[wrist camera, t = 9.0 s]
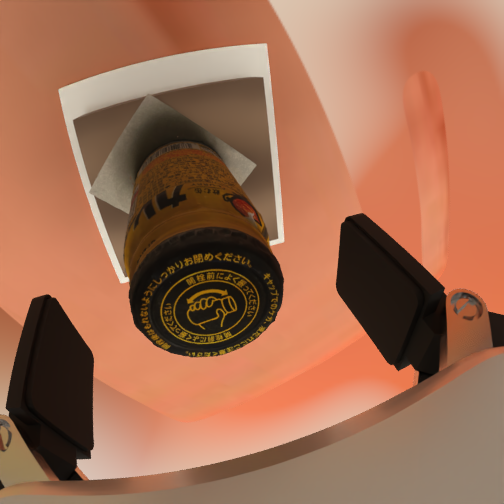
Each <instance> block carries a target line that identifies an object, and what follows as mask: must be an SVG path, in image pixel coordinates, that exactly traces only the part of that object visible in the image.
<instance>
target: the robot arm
mask: <svg viewBox="0 0 504 504" xmlns="http://www.w3.org/2000/svg"><path fill="white" fill-rule="evenodd" d="M336 288H337V292H338V294H339V295H340V297H341V298H342V299H343V301H344V302H345V303H346V305H347V306H348V308H349V309H350V310H351V312H352V313H353V314H354V316H355V317H356V319H357V320H358V321H359V323H360V324H361V326H362V327H363V328H364V330H365V331H366V333H367V334H368V335H369V337H370V338H371V340H372V341H373V342H374V344H375V345H376V347H377V348H378V349H379V351H380V352H381V354H382V355H383V357H384V358H385V360H386V361H387V362H388V363H389V364H390V365H394V366H395V368H396V369H397V370H398V371H399V370H401V369H403V368H405V367H407V366H409V365H410V364H411V365H412V366H413V367H414V369H415V373H414V381H413V387H412V388H410V389H408V390H406V391H404V392H402V393H401V394H399V395H397V396H395V397H393V398H391V399H389V400H387V401H386V402H383V403H382V404H379V405H377V406H375V407H373V408H371V409H369V410H367V411H365V412H363V413H361V414H359V415H356V416H354V417H352V418H350V419H347V420H345V421H343V422H341V423H338V424H336V425H333V426H331V427H329V428H326V429H324V430H321V431H319V432H316V433H313V434H311V435H308V436H305V437H303V438H300V439H297V440H294V441H292V442H289V443H286V444H283V445H280V446H277V447H274V448H271V449H268V450H264V451H261V452H257V453H254V454H250V455H247V456H243V457H239V458H236V459H232V460H228V461H224V462H220V463H215V464H211V465H206V466H201V467H196V468H192V469H186V470H180V471H175V472H169V473H162V474H155V475H148V476H139V477H129V478H117V479H102V480H89V479H88V478H87V477H86V476H85V475H84V474H83V472H82V471H81V470H80V469H79V468H78V467H77V459H91V452H90V450H92V449H93V447H94V440H93V368H94V358H93V354H92V351H91V350H90V348H89V347H88V346H87V344H86V343H85V341H84V340H83V339H82V337H81V336H80V334H79V333H78V331H77V330H76V328H75V327H74V325H73V324H72V322H71V321H70V319H69V318H68V316H67V315H66V313H65V312H64V310H63V309H62V307H61V305H60V304H59V302H58V301H57V299H56V298H52V297H51V296H50V295H43V296H40V297H36V298H34V299H32V301H31V304H30V307H29V310H28V314H27V317H26V320H25V323H24V327H23V330H22V334H21V338H20V342H19V345H18V349H17V353H16V357H15V362H14V366H13V370H12V375H11V380H10V386H9V391H8V397H7V403H6V409H7V410H8V411H9V417H8V416H6V415H1V414H0V504H504V315H501V314H496V313H493V312H488V310H487V307H486V304H485V302H484V301H483V299H482V298H481V297H480V296H478V295H477V294H475V293H474V292H472V291H470V290H467V289H455V290H452V291H451V292H449V294H448V295H446V294H445V293H444V289H445V288H444V287H443V285H441V284H440V283H439V282H438V281H437V280H436V279H435V278H434V277H433V276H432V275H431V274H430V273H429V272H428V271H427V270H426V269H425V268H424V267H423V266H422V265H421V264H420V263H419V262H418V261H417V260H416V259H415V258H413V257H412V256H411V255H410V254H409V253H408V252H407V251H406V250H405V249H404V248H402V247H401V246H400V245H399V244H398V243H397V242H396V241H395V240H394V239H393V238H391V237H390V236H389V235H388V234H387V233H386V232H385V231H384V230H382V229H381V228H380V227H379V226H378V225H377V224H376V223H374V222H373V221H372V220H371V219H370V218H369V217H367V216H366V215H365V214H363V213H361V214H356V215H352V216H348V217H346V219H345V222H343V223H342V224H341V232H340V246H339V258H338V269H337V279H336Z"/></svg>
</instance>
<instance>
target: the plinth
mask: <svg viewBox="0 0 504 504" xmlns="http://www.w3.org/2000/svg"><path fill="white" fill-rule="evenodd" d="M151 95H152V96H153V97H155V98H157V99H158V100H160V101H161V102H163V103H165V104H166V105H168V106H170V107H171V108H173V109H175V110H176V111H178V112H179V113H181V114H182V115H184V116H185V117H187V118H188V119H190V120H191V121H193V122H195V123H196V124H198V125H199V126H201V127H202V128H204V129H205V130H207V131H208V132H210V133H211V134H213V135H214V136H216V137H217V138H219V139H220V140H222V141H223V142H225V143H226V144H228V145H229V146H230V147H232V148H234V149H235V150H236V151H238V152H239V153H241V154H242V155H244V156H245V157H246V158H248V159H249V160H251V161H252V162H253V163H255V164H256V167H255V168H254V169H253V171H252V172H251V173H250V175H249V176H248V177H247V178H246V180H245V181H244V182H243V183H242V185H241V188H242V189H243V191H244V192H245V194H246V195H247V196H248V198H249V199H250V201H251V202H252V204H253V205H254V207H255V208H256V209H257V211H258V212H259V213H260V214H261V216H262V218H263V221H264V223H265V226H266V228H267V232H268V235H269V240H270V241H272V240H276V239H278V228H277V215H276V203H275V191H274V179H273V168H272V157H271V146H270V136H269V126H268V116H267V106H266V97H265V88H264V79H263V77H245V78H237V79H229V80H223V81H216V82H210V83H204V84H198V85H193V86H188V87H183V88H178V89H173V90H168V91H164V92H160V93H155V94H151ZM145 97H146V96H143V97H139V98H136V99H132V100H128V101H125V102H121V103H118V104H114V105H111V106H108V107H105V108H101V109H98V110H95V111H92V112H89V113H86V114H84V115H82V116H80V117H78V118H76V119H74V120H73V124H74V128H75V132H76V136H77V139H78V143H79V147H80V151H81V154H82V158H83V161H84V165H85V168H86V172H87V175H88V178H89V181H90V184H91V187H92V185H93V184H94V182H95V180H96V178H97V176H98V174H99V172H100V170H101V169H102V167H103V165H104V163H105V161H106V160H107V158H108V156H109V154H110V153H111V151H112V149H113V147H114V146H115V144H116V142H117V141H118V139H119V137H120V136H121V134H122V132H123V131H124V129H125V128H126V126H127V125H128V123H129V121H130V120H131V118H132V117H133V115H134V114H135V112H136V111H137V109H138V108H139V106H140V105H141V103H142V101H143V100H144V99H145ZM177 137H178V136H177ZM131 179H132V178H131V176H130V180H131ZM132 184H133V185H134V182H133V183H132ZM94 197H95V200H96V203H97V206H98V209H99V212H100V214H101V217H102V220H103V223H104V226H105V228H106V231H107V234H108V236H109V239H110V242H111V244H112V247H113V249H114V252H115V254H116V257H117V259H118V262H119V264H120V267H121V269H122V272H123V274H124V276H125V277H128V276H127V273H126V269H125V264H124V257H123V254H124V242H125V235H126V229H127V222H128V217H129V214H127V213H126V212H124V211H122V210H121V209H119V208H116V207H114V206H112V205H111V204H109V203H107V202H105V201H103V200H101V199H99V198H97V197H96V196H94Z"/></svg>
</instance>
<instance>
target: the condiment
mask: <svg viewBox="0 0 504 504" xmlns="http://www.w3.org/2000/svg"><path fill="white" fill-rule="evenodd" d="M177 136H178V137H177ZM255 167H256V164H255V163H253V162H252V161H251V160H249V159H248V158H246V157H245V156H244V155H242V154H241V153H239V152H238V151H236V150H235V149H234V148H232V147H230V146H229V145H228V144H226V143H225V142H223V141H222V140H220V139H219V138H217V137H216V136H214V135H213V134H211V133H210V132H208V131H207V130H205V129H204V128H202V127H201V126H199V125H198V124H196V123H195V122H193V121H191V120H190V119H188V118H187V117H185V116H184V115H182V114H181V113H179V112H178V111H176V110H175V109H173V108H171V107H170V106H168V105H166V104H165V103H163V102H161V101H160V100H158V99H157V98H155V97H153V96H152V95H150V94H147V96H146V97H145V99H144V100H143V101H142V103H141V105H140V106H139V108H138V109H137V111H136V112H135V114H134V115H133V117H132V118H131V120H130V121H129V123H128V125H127V126H126V128H125V129H124V131H123V132H122V134H121V136H120V137H119V139H118V141H117V142H116V144H115V146H114V147H113V149H112V151H111V153H110V154H109V156H108V158H107V160H106V161H105V163H104V165H103V167H102V169H101V170H100V172H99V174H98V176H97V178H96V180H95V182H94V184H93V185H92V187H91V189H90V191H89V193H90V194H92V195H94V196H96V197H97V198H99V199H101V200H103V201H105V202H107V203H109V204H111V205H112V206H114V207H116V208H119V209H121V210H122V211H124V212H126V213H127V214H129V217H128V222H127V229H126V235H125V242H124V254H123V257H124V264H125V269H126V273H127V276H128V278H129V284H130V290H129V299H130V301H129V302H130V306H131V312H132V315H133V320H134V324H135V326H136V327H137V328H138V329H139V330H140V331H141V332H142V333H143V334H144V335H145V336H146V337H147V338H148V339H149V340H150V341H151V342H152V343H153V344H154V345H155V346H157V347H159V348H162V349H164V350H166V351H168V352H170V353H174V354H178V355H183V356H189V357H209V356H218V355H223V354H226V353H229V352H231V351H234V350H237V349H239V348H241V347H243V346H245V345H247V344H248V343H250V342H252V341H253V340H255V339H256V338H258V337H259V336H260V335H261V334H262V332H264V331H265V330H266V329H267V328H268V326H269V325H270V324H271V323H272V322H274V321H275V318H276V316H277V312H278V311H279V309H280V307H281V304H282V298H283V283H284V278H283V275H282V271H281V268H280V264H279V262H278V261H277V259H276V257H275V256H274V255H273V253H272V250H271V248H270V240H269V235H268V232H267V228H266V226H265V223H264V221H263V218H262V216H261V214H260V213H259V212H258V211H257V209H256V208H255V207H254V205H253V204H252V202H251V201H250V199H249V198H248V196H247V195H246V194H245V192H244V191H243V189H242V188H241V185H242V183H243V182H244V181H245V180H246V178H247V177H248V176H249V175H250V173H251V172H252V171H253V169H254V168H255ZM130 176H131V178H132V179H131V180H130ZM133 182H134V185H133V184H132V183H133Z"/></svg>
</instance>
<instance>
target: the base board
mask: <svg viewBox="0 0 504 504" xmlns="http://www.w3.org/2000/svg"><path fill="white" fill-rule="evenodd" d="M245 77H263V79H264V88H265V97H266V106H267V116H268V126H269V136H270V146H271V157H272V168H273V179H274V191H275V203H276V215H277V228H278V239H276V240H272V241H270V246H271V245H275V244H279V243H283V242H284V228H283V214H282V200H281V186H280V174H279V161H278V149H277V138H276V127H275V117H274V106H273V96H272V87H271V77H270V68H269V59H268V50H267V43H264V44H250V45H239V46H229V47H221V48H213V49H206V50H200V51H194V52H188V53H182V54H177V55H172V56H167V57H162V58H158V59H153V60H149V61H145V62H141V63H137V64H133V65H129V66H126V67H122V68H118V69H115V70H112V71H108V72H105V73H102V74H99V75H96V76H93V77H90V78H87V79H84V80H81V81H78V82H76V83H73V84H70V85H68V86H65V87H62V88H60V89H58V91H59V96H60V101H61V105H62V110H63V114H64V118H65V123H66V127H67V131H68V135H69V138H70V142H71V146H72V150H73V153H74V157H75V160H76V164H77V167H78V170H79V173H80V177H81V180H82V183H83V186H84V189H85V192H86V195H87V198H88V201H89V204H90V207H91V210H92V213H93V215H94V218H95V221H96V224H97V226H98V229H99V232H100V234H101V237H102V239H103V242H104V244H105V247H106V249H107V252H108V254H109V257H110V259H111V262H112V264H113V266H114V269H115V271H116V273H117V276H118V278H119V280H120V283H125V282H129V278H128V277H125V276H124V274H123V272H122V269H121V267H120V264H119V262H118V259H117V257H116V254H115V252H114V249H113V247H112V244H111V242H110V239H109V236H108V234H107V231H106V228H105V226H104V223H103V220H102V217H101V214H100V212H99V209H98V206H97V203H96V200H95V197H94V195H92V194H90V193H89V191H90V189H91V184H90V181H89V178H88V175H87V172H86V168H85V165H84V161H83V158H82V154H81V151H80V147H79V143H78V139H77V136H76V132H75V128H74V124H73V120H74V119H76V118H78V117H80V116H82V115H84V114H86V113H89V112H92V111H95V110H98V109H101V108H105V107H108V106H111V105H114V104H118V103H121V102H125V101H128V100H132V99H136V98H139V97H143V96H147V94H150V95H151V94H155V93H160V92H164V91H168V90H173V89H178V88H183V87H188V86H193V85H198V84H204V83H210V82H216V81H223V80H229V79H237V78H245Z"/></svg>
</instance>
